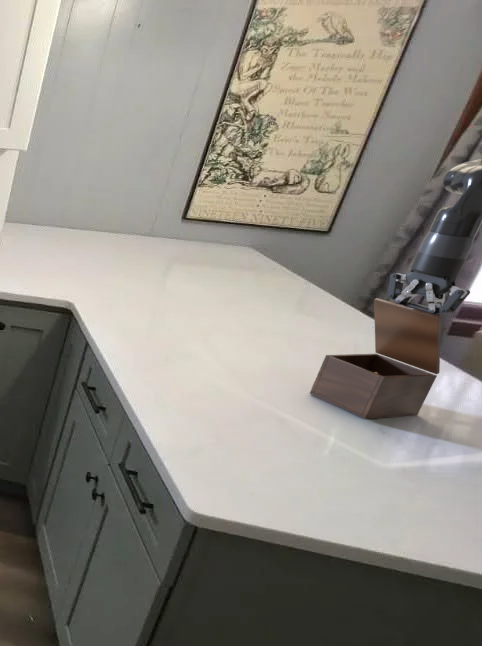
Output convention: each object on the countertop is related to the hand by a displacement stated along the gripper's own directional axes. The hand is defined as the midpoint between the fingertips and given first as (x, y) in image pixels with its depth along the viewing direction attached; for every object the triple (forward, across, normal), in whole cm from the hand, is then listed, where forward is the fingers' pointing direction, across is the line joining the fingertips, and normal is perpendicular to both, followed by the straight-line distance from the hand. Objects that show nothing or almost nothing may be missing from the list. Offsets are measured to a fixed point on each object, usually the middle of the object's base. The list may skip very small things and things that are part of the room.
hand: (410, 322), depth 148 cm
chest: (+22, 0, +4) cm, 22 cm away
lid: (+4, 0, 0) cm, 4 cm away
